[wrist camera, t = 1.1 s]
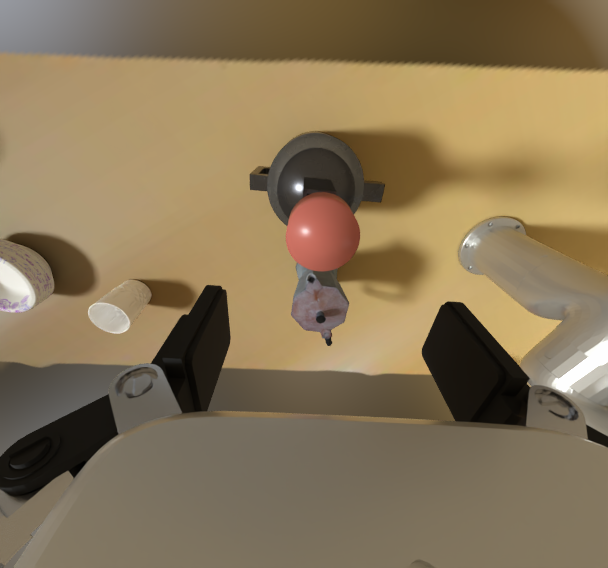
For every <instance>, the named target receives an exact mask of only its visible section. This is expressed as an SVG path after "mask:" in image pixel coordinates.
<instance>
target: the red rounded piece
mask: <svg viewBox="0 0 608 568" xmlns="http://www.w3.org/2000/svg"><path fill="white" fill-rule="evenodd" d="M359 241H360V229H359V225H358V223H357V220H356V218H355V216H354V215H353V213H352V211H351V209H350V207H349V206H348V204H347V203H346V202H345V201H344V200H343V199H342V198H340V197H339V196H337V195H335V194H332V193H327V192H316V193H312V194H309V195H307V196H305V197H304V198H302V199H301V200H300V201H299V202H298V203H297V204H296V205H295V206H294V207H293V209H292V211H291V213H290V216H289V221H288V226H287V232H286V243H287V247H288V250H289V252H290V254H291V256H292V257H293V258H294V260H295V261H296V262H297V263H299V264H300V265H301V266H303V267H305V268H307V269H310V270H314V271H330V270H334V269H337V268H339V267H341V266H342V265H344V264H345V263H347V262H348V261H349V260H350V259H351V258H352V256H353V255H354V254H355V252H356V250H357V248H358V245H359Z"/></svg>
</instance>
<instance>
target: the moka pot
mask: <svg viewBox="0 0 608 568" xmlns="http://www.w3.org/2000/svg"><path fill="white" fill-rule="evenodd" d="M296 270H297V274H298V278H299V282H298V285H297V288H296V291H295V294H294V298H293V305H292V312H291V316H292V317H293V318H294V319H295V320H296V321H297V322H298V323H299V325H300V326H301V327H302V328H303V329H304V330H308V331H317V332H321V335H322V338H325V340H326V344H327V345H328V346H330V345H331V344H332V341H331V337H332V333H331V330H332V329H333V328H335V327H337V326H338V325H340V324H342V323H343V322H344V321H345V318H346V313H347V310H348V306H349V302H348V300H347V298H346V296H345V294H344V292H343V290H342V288H341V286H340V284H339V282H338V281H337V269H334V270H330V271H314V270H310V269H307V268H305V267H303V266H301V265H300V264H299V263H297V265H296Z"/></svg>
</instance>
